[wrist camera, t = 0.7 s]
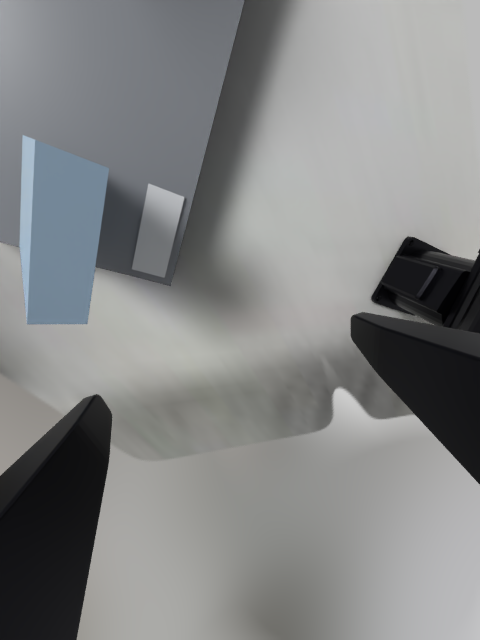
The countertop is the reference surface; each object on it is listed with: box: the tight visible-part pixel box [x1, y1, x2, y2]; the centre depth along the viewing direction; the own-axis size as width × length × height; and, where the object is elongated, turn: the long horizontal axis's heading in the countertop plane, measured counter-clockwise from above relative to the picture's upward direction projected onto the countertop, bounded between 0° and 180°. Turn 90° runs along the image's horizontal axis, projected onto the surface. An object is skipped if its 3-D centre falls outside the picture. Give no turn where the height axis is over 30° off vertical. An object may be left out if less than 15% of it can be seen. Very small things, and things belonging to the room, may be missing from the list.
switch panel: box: [0, 0, 245, 286], centre depth 12 cm, size 12×21×3 cm, turn 160°
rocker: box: [20, 135, 109, 324], centre depth 10 cm, size 2×5×9 cm, turn 160°
